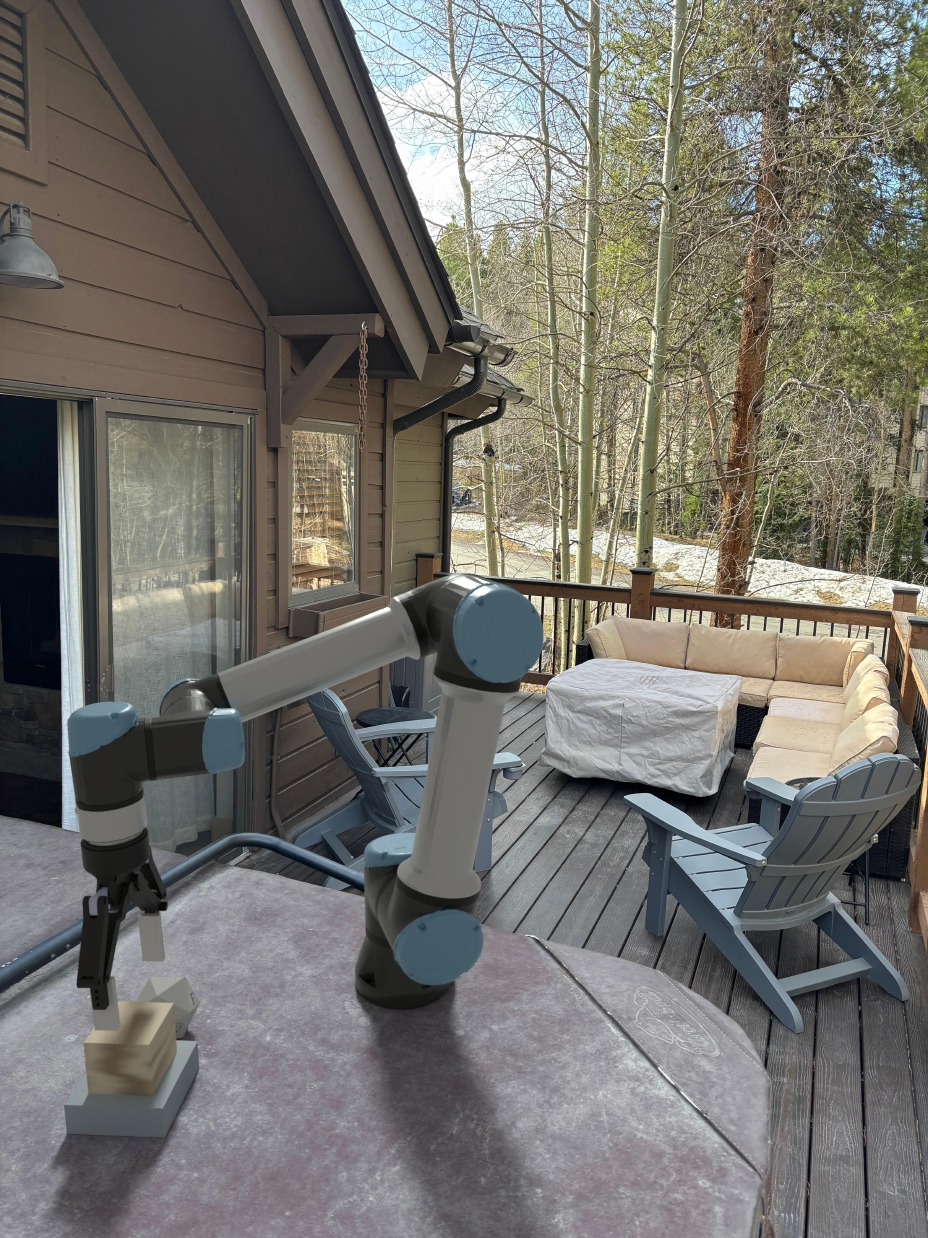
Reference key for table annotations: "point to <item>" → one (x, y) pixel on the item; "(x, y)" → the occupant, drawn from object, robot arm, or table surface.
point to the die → (172, 998)
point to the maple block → (132, 1050)
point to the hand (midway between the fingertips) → (132, 992)
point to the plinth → (134, 1102)
